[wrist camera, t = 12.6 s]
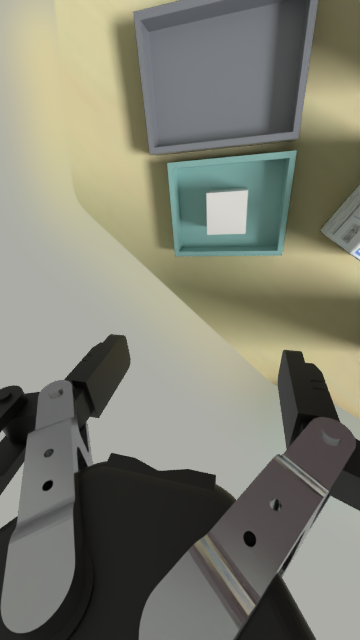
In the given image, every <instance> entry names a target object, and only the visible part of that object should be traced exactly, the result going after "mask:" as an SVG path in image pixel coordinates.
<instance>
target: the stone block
mask: <svg viewBox="0 0 360 640" xmlns="http://www.w3.org/2000/svg"><path fill="white" fill-rule="evenodd" d="M247 199H248V188H234V189H220V190H210V191H209V192H207V193H206V200H207V235H218V234H245V233H246V216H247Z"/></svg>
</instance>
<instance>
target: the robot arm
mask: <svg viewBox="0 0 360 640" xmlns="http://www.w3.org/2000/svg"><path fill="white" fill-rule="evenodd" d="M129 366H130V354H129V349H128V345H127V340H126V337H125V336H124V335H113V334H111V335H109V336H108V337H107V338H106V340H105V341H104V342H103V343H99V344H98V345H96V346H95V347H93V348H92V349H91V350H90V351H89V352H88V354H87V355H86V356H85V357H84V358H83V359H82V361H80V363H79V364H78V365H77V366H76V367H75V368H74V369H73V370H72V372H71V373H70V374H69V375H68V376H67V377H66V378H65V380H59V381H55V382H52V383H50V384H49V385H47V386H46V387H44V388H43V389H42V390H41V392H36V393H27V394H24V392H23V390H22V389H21V388H20V387H19V386H8V387H5V388H3V389H0V432H1V431H2V430H3V431H4V433H5V434H6V436H5V437H4V438H3V440H2V441H1V442H0V495H1V493H2V492H3V491H4V489H5V488H6V486H7V485H8V484H9V482H10V481H11V479H12V478H13V477H14V475H15V474H16V472H17V471H18V469H19V468H20V467H21V465H22V464H23V462H24V469H23V477H22V486H21V495H20V502H19V511H18V516H17V517H16V518H14V519H13V520H12V521H10V522H9V523H8V524H6V525H5V526H3V527H2V528H1V529H0V640H316V638H315V637H314V635H313V633H312V631H311V629H310V628H309V626H308V624H307V622H306V620H305V619H304V617H303V615H302V613H301V611H300V610H299V608H298V606H297V604H296V602H295V600H294V599H293V597H292V595H291V593H290V591H289V590H288V588H287V586H286V584H285V582H284V580H283V579H282V576H283V575H284V573H285V572H286V570H287V568H288V567H289V565H290V563H291V562H292V560H293V558H294V557H295V555H296V553H297V552H298V550H299V548H300V546H301V545H302V543H303V541H304V539H305V538H306V536H307V534H308V532H309V531H310V529H311V527H312V526H313V524H314V522H315V521H316V519H317V518H318V516H319V514H320V513H321V511H322V509H323V507H324V506H325V504H326V503H327V501H328V499H329V498H330V496H333V497H334V498H336V499H338V500H340V501H342V502H344V503H346V504H348V505H350V506H352V507H353V508H356V509H358V510H359V511H360V441H359V440H357V439H355V437H354V436H353V434H352V432H351V431H350V430H349V429H348V428H347V427H346V426H345V425H343V424H342V423H340V420H339V418H338V415H337V412H336V410H335V407H334V404H333V401H332V399H331V396H330V393H329V391H328V388H327V385H326V383H325V379H324V377H323V374H322V372H321V371H320V370H319V369H318V368H317V367H316V366H315V365H314V364H312V363H305V361H304V357H303V354H302V352H301V351H291V350H283V353H282V358H281V364H280V369H279V374H278V390H279V398H280V405H281V412H282V419H283V426H284V433H285V440H286V448H287V450H286V451H285V453H284V454H283V455H279V454H278V455H276V456H275V457H274V458H273V459H272V460H271V461H270V462H269V463H268V464H267V466H266V467H265V468H264V469H263V470H262V471H261V473H260V474H259V475H258V476H257V477H256V478H255V479H254V481H253V482H252V483H251V484H250V485H249V487H248V488H247V489H246V490H245V491H244V492H243V493H242V494H241V496H240V497H239V498H238V499H237V500H236V499H235V498H234V497H233V496H232V495H231V494H230V493H228V492H227V491H226V490H224V489H223V488H222V487H220V486H218V485H216V475H213V474H208V473H203V472H199V471H194V470H189V469H184V470H167V471H158V470H156V469H154V468H152V467H150V466H149V465H147V464H145V463H143V462H141V461H140V460H138V459H136V458H133V457H128V456H123V455H119V454H114V453H111V455H110V457H109V459H108V461H107V462H101V463H97V464H93V461H92V455H91V447H90V440H89V431H88V424H87V422H86V421H87V420H88V418H89V417H96V418H99V417H100V415H101V413H102V412H103V410H104V408H105V407H106V405H107V403H108V402H109V400H110V399H111V397H112V395H113V394H114V392H115V390H116V389H117V387H118V385H119V383H120V382H121V380H122V379H123V377H124V375H125V374H126V372H127V370H128V368H129Z"/></svg>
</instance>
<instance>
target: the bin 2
mask: <svg viewBox="0 0 360 640" xmlns="http://www.w3.org/2000/svg"><path fill="white" fill-rule="evenodd" d="M296 153H297V150H295V151H285V152H275V153H265V154H254V155H244V156H234V157H224V158H214V159H203V160H193V161H183V162H173V163H167V168H168V179H169V191H170V203H171V214H172V226H173V238H174V249H175V256H271V255H282V251H283V244H284V237H285V230H286V223H287V216H288V209H289V202H290V195H291V188H292V181H293V174H294V167H295V160H296ZM234 188H248V199H247V216H246V233H245V234H218V235H207V200H206V193H207V192H209V191H210V190H220V189H234Z"/></svg>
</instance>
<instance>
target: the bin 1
mask: <svg viewBox="0 0 360 640" xmlns="http://www.w3.org/2000/svg"><path fill="white" fill-rule="evenodd" d="M317 6H318V0H180V1H176V2H172V3H168V4H164V5H160V6H156V7H152V8H148V9H144V10H140V11H136V12H133V14H134V22H135V31H136V40H137V48H138V57H139V66H140V75H141V83H142V92H143V101H144V109H145V118H146V127H147V135H148V144H149V153H150V155H167V154H176V153H186V152H195V151H205V150H214V149H223V148H233V147H242V146H252V145H261V144H271V143H280V142H290V141H295V140H297V139H298V138H299V132H300V125H301V118H302V111H303V104H304V97H305V90H306V83H307V76H308V69H309V62H310V55H311V48H312V41H313V34H314V27H315V20H316V13H317Z"/></svg>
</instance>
